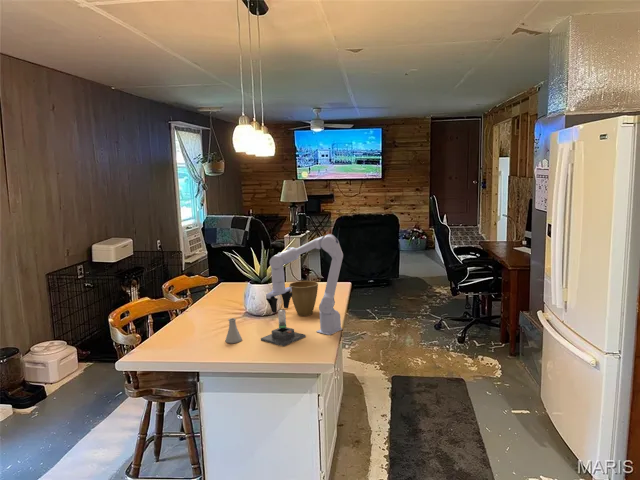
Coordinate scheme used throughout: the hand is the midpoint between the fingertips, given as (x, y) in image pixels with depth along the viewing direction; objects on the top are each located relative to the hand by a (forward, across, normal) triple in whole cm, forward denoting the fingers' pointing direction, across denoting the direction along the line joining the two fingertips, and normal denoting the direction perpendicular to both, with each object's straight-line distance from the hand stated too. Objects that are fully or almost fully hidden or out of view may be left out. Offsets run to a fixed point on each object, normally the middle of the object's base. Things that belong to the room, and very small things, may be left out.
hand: (280, 310), depth 221 cm
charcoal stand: (+10, +6, +7) cm, 14 cm away
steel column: (+5, +6, +7) cm, 11 cm away
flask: (+11, +20, -10) cm, 25 cm away
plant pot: (+11, -27, -10) cm, 31 cm away
